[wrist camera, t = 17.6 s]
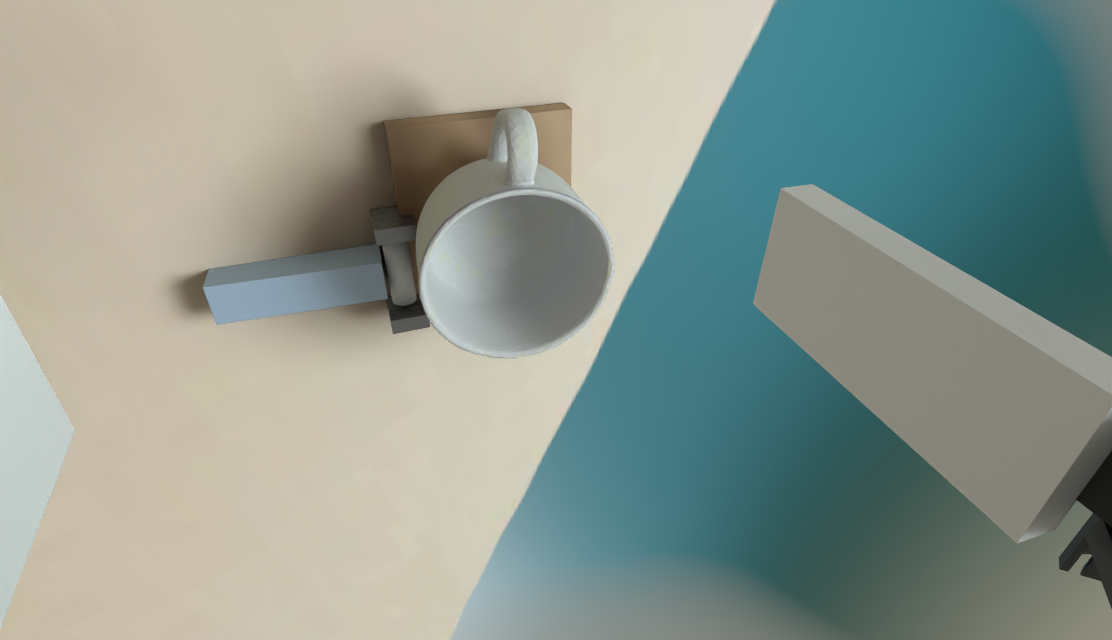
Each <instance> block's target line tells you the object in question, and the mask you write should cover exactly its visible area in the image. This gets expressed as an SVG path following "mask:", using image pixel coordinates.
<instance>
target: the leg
mask: <svg viewBox="0 0 1112 640" xmlns="http://www.w3.org/2000/svg"><path fill="white" fill-rule="evenodd" d="M382 248H383V253H384V259H385V264H386V270H387V275H388V281H389V286H390V292H391V297H392V302H393V303H394V304H395V305H399V306H406V305H410V304H412V303H414V302H415V301H416V299H417V295H416V289H415V283H414V276H413V270H412V263H411V257H410V250H409V244H408V241H407V242H401V243H394V244H387V245H382ZM203 290H204V293H205V295H206V298H207V301H208V303H209V306H210V308H211V311H212V314H213V316H214V319H215V322H216V324H217V325H218V324H225V323H231V322H238V321H245V320H251V319H258V318H265V317H271V316H278V315H285V314H291V313H298V312H305V311H311V310H318V309H325V308H331V307H338V306H345V305H351V304H358V303H365V302H371V301H378V300H385V299H388V295H387V287H386V279H385V273H384V268H383V263H382V257H381V252H380V246H377V245H376V244H373V245H366V246H360V247H353V248H347V249H340V250H333V251H327V252H320V253H313V254H307V255H300V256H293V257H287V258H280V259H273V260H267V261H260V262H253V263H247V264H240V265H233V266H227V267H220V268H214V269H209V270H208V273H207V276H206V279H205V282H204V285H203Z"/></svg>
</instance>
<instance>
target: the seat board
mask: <svg viewBox="0 0 1112 640" xmlns="http://www.w3.org/2000/svg"><path fill="white" fill-rule="evenodd" d="M517 108H522V109H525V110H526V111H528V112H529V113H530V115H531V117H532V118H533V120H534V124H535V128H536V132H537V141H538V161H537V163H539V164H541V165H543V166H545V167H547V168H548V169H550V170H552V171H553V172H555V173H556V174H557V175H558V176H560V177H561V178H562V179H563V180H564V181H565V182H566V183H567V184H568V185H569V186H570V187H571V136H572V109H571V108H570V107H569V106H568V105H566V104H565V103H556V104H546V105H537V106H527V107H517ZM501 110H503V109H497V110H488V111H478V112H468V113H458V114H448V115H438V116H429V117H419V118H409V119H399V120H389V121H384V126H385V133H386V139H387V145H388V151H389V158H390V164H391V170H392V176H393V183H394V189H395V195H396V201H397V207H398V210H399V213H400V215H406V214H412V216H413V219H414V222H415V225H416V232H417V225H418V221H419V217H420V215H421V212H422V210H423V207H424V205H425V203H426V201H427V199H428V198H429V196H430V195H431V194H432V192H433V191H434V189H435V188H436V187H437V186H438V185H439V184H440V183H441V182H442V181H443V180H444V179H445V178H446V177H447V176H448V175H450V174H451V173H453V172H454V171H456V170H457V169H459V168H461V167H463V166H465V165H467V164H470V163H472V162H475V161H478V160H481V159H486V158H487V154H488V150H489V148H490V142H491V135H492V128H493V124H494V120H495V117H496V115H497V113H499V112H500V111H501ZM408 244H409V250H410V257H411V263H412V270H413V276H414V283H415V289H416V294H419V287H418V279H419V275H418V268H417V259H416V240H414V241H408Z"/></svg>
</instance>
